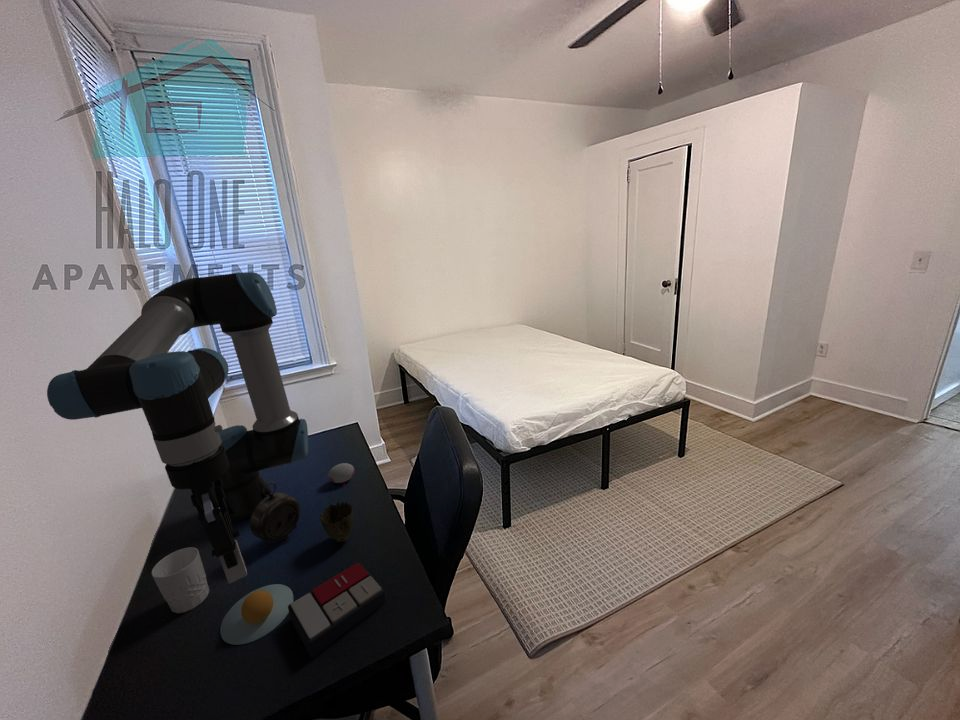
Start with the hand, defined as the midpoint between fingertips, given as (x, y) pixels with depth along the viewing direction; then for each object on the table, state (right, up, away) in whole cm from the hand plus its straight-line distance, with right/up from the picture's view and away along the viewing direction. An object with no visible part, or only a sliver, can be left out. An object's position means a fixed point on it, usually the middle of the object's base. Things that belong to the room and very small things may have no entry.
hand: (237, 576), depth 66 cm
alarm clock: (-8, -8, +32) cm, 34 cm away
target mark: (-3, -14, +12) cm, 19 cm away
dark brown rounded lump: (+7, -7, +30) cm, 32 cm away
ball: (-2, -11, +10) cm, 15 cm away
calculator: (+13, -13, +11) cm, 22 cm away
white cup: (-20, -14, +17) cm, 30 cm away
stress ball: (-2, -1, +55) cm, 55 cm away
